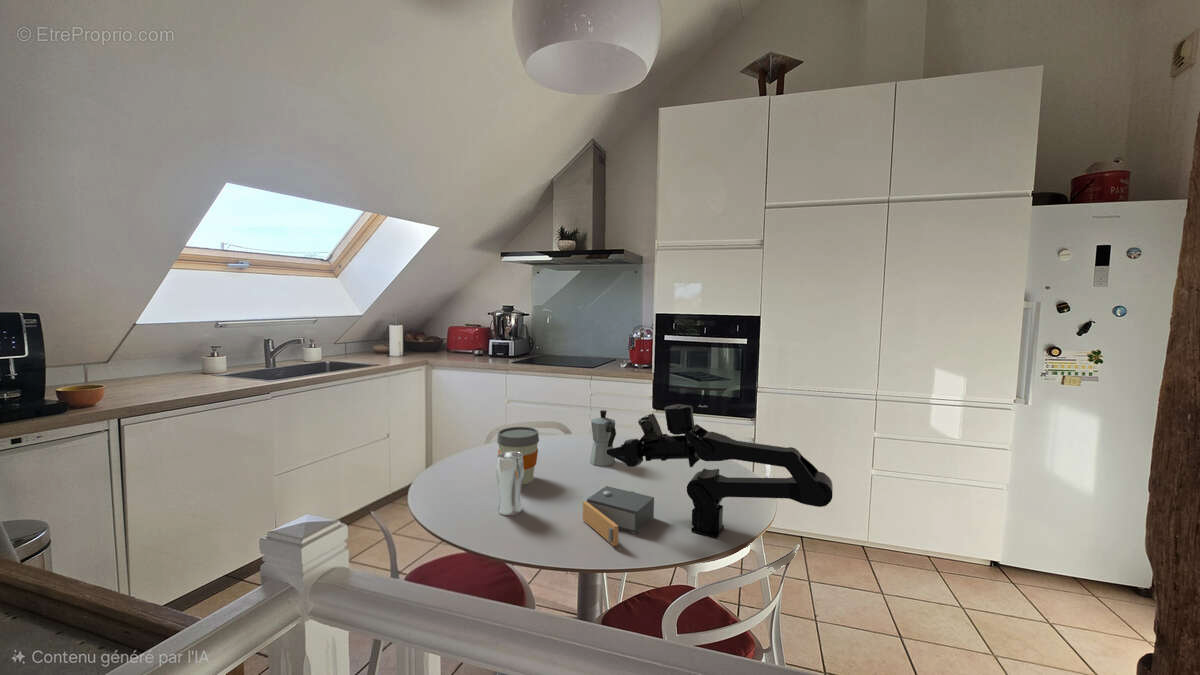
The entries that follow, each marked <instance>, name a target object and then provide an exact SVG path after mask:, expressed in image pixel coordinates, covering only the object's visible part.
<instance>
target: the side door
mask: <svg viewBox="0 0 1200 675" xmlns="http://www.w3.org/2000/svg"><path fill="white" fill-rule="evenodd" d="M582 521H584V522H585V523H586V524H587V525H589V527H590V528H592V529H593V530H595V532H596V533H598V534H599V535H600V536H601V537H603V538H604V540H606V541H607V542H608V543H609V544H610V545H612V546H613V547H617V546H618V545H619V529H618V525H617V524H615V523H614V522H613V521H611V520H610V519H609V518H608V517H606V516H605V515H604V514H602V513H601V512H600V511H598V510H597V509H596V508H595V507H593V506H592V505H591V504H589V503H588V502H587V500H586V501H583V502H582Z"/></svg>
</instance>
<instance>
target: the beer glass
mask: <svg viewBox="0 0 1200 675" xmlns="http://www.w3.org/2000/svg"><path fill="white" fill-rule="evenodd" d="M496 457H497V459H496V480H497V481H496V482H497V486H498V493H499V505H498V513H499V514H500V515H502V516H507V517H509V516H516V515H519V514H520V513H521V512H522V510H523V507H522V503H521V492H522V487H523V485H522V482H523V472H524V467H523V454H522V453H520V452H516V451H507V452H502V453H500V454H497V456H496Z"/></svg>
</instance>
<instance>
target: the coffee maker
mask: <svg viewBox="0 0 1200 675" xmlns="http://www.w3.org/2000/svg"><path fill="white" fill-rule="evenodd" d="M607 412H608V411H607V410H605V409H604V410H603V409H602V410H600V411H599V413H600V417H595V418H593V419H590V423H591V432H592V440H593V443H592V447H591V453H590V459H589V463H590V464H591V465H593V466H594V467H601V468H604V467H611V466H613V465H614V464H615V463H616V458H614V457H612V456H610V455H608V454H607V450H608V449H612V448H614V441H615V438H616V436H617V430H616V420H615V419H612V418H609V417H607V416H606V415H607Z"/></svg>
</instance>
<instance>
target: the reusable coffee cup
mask: <svg viewBox="0 0 1200 675" xmlns="http://www.w3.org/2000/svg"><path fill="white" fill-rule="evenodd" d="M539 439H540V438H539V431H538V429H536V428H533V427H527V426H513V427H505V428H502V429H500V430H499V431H498V432H497V444H498V451H497V453H498V454H500V453H502V452H507V451H516V452H520V453H522V454H523V467H524V472H523V482H522V486H524V484H525V485H528V484H530V483H532V482H533V481H532V480H534V472H535V466H536V465H537V463H538V461H537V460H538V453H539V452H538V451H539V449H538V443H539V442H540V440H539ZM498 454H497V455H498ZM531 481H532V482H531ZM527 483H528V484H527Z"/></svg>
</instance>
